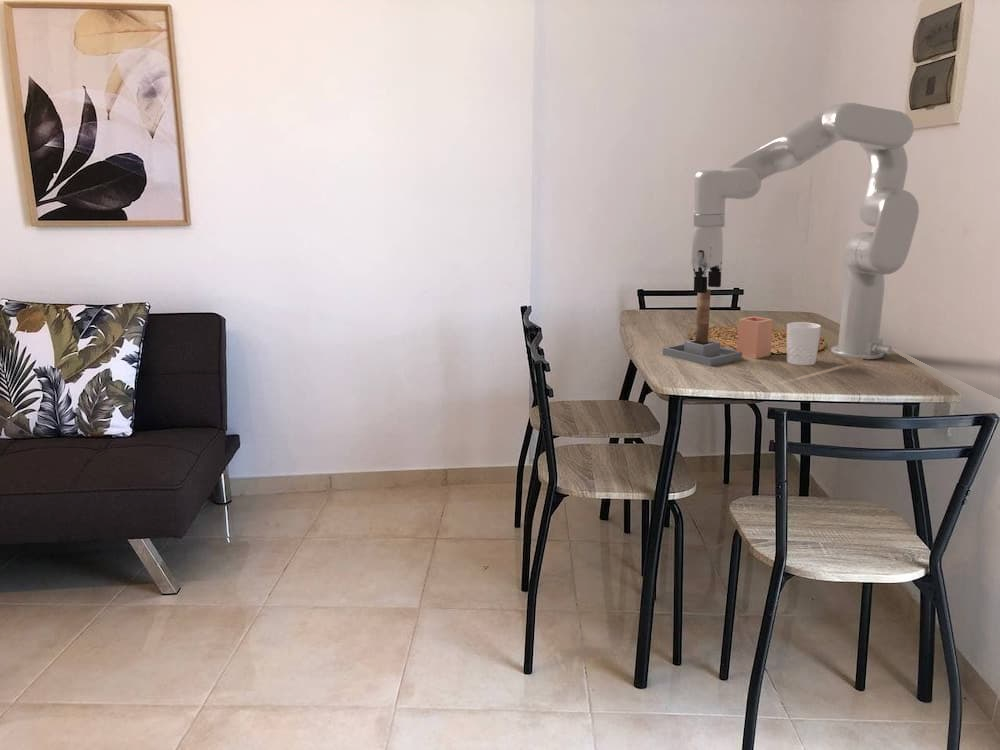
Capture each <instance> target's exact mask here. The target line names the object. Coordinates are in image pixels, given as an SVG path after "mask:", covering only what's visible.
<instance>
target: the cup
mask: <svg viewBox="0 0 1000 750" xmlns="http://www.w3.org/2000/svg"><path fill="white" fill-rule="evenodd" d="M773 326H774V320H773V319H771V318H765V317H759V316H748V317H744V318H739V319H738V329H737V330H738V331H737V342H736V343H737V345H736V351H740V352H742V357H746V358H751V359H760V358H765V357H769V356H771V355H772V354H771V352H772V341H773V339H772V338H773V329H774V327H773Z"/></svg>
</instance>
